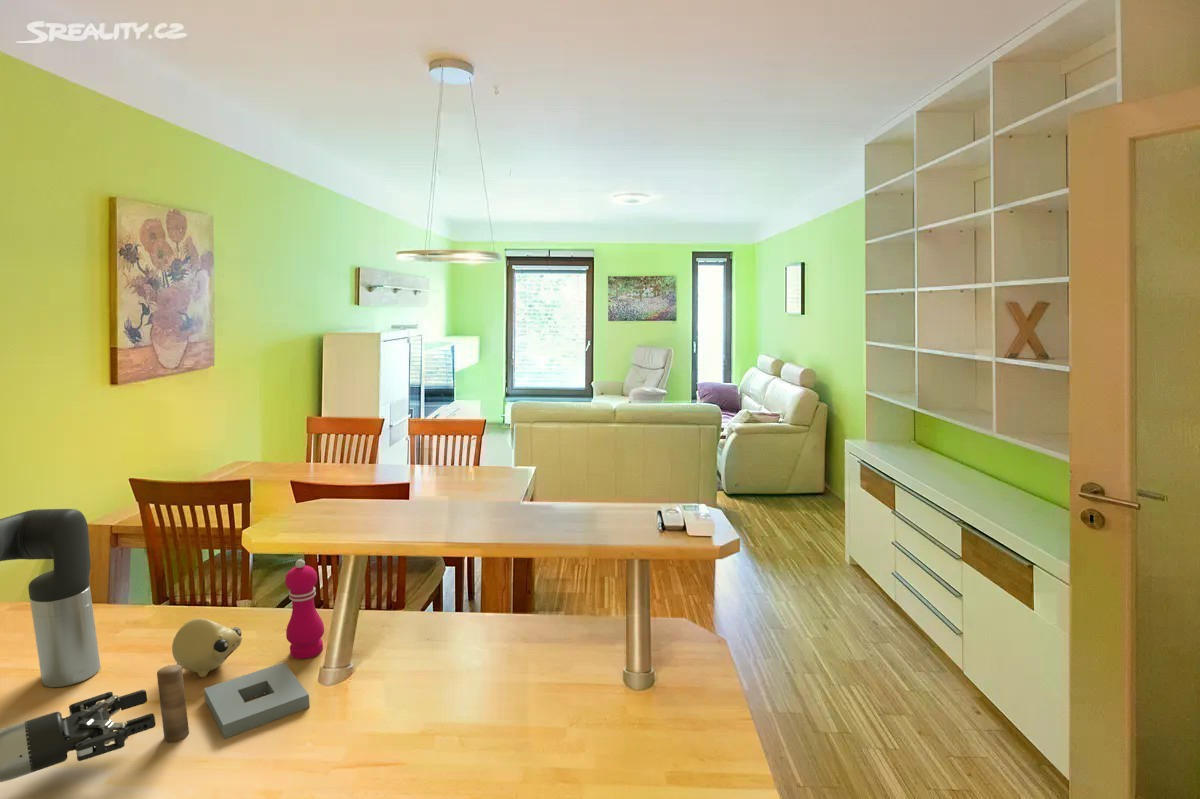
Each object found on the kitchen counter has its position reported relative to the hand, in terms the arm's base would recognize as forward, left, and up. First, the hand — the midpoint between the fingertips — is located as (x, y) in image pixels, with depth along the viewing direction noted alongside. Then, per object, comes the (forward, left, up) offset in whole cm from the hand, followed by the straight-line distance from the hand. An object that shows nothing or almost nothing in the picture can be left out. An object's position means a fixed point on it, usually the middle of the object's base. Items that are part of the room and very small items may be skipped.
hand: (150, 707), depth 120 cm
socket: (-1, +16, -7) cm, 18 cm away
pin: (0, +3, -7) cm, 7 cm away
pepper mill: (-14, +29, -7) cm, 33 cm away
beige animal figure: (-19, +12, -7) cm, 24 cm away
